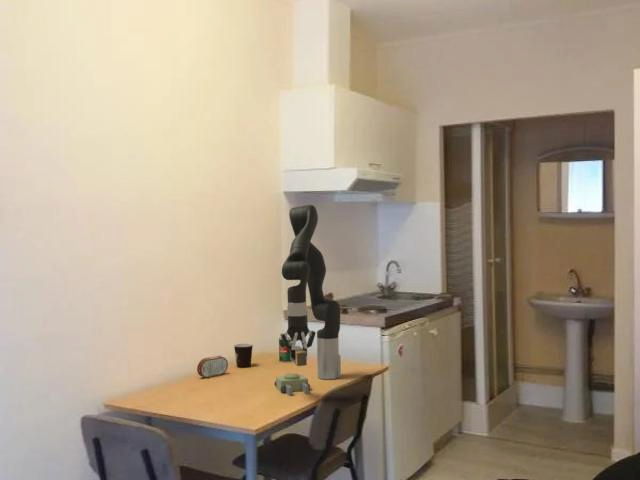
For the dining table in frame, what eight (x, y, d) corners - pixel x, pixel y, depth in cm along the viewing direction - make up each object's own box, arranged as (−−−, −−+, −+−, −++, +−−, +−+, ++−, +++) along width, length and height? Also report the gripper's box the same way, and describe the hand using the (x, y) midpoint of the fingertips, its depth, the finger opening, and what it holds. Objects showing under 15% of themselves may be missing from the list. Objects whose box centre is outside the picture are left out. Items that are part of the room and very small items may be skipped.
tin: (225, 372, 302) (224, 354, 301) (229, 373, 299) (228, 355, 299) (196, 378, 291) (196, 359, 291) (201, 379, 289) (200, 360, 289)
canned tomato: (277, 362, 323) (277, 339, 323) (281, 358, 331) (280, 336, 330) (293, 362, 322) (293, 339, 321) (296, 359, 329) (296, 336, 329)
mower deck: (302, 384, 276) (302, 371, 276) (313, 393, 261) (313, 379, 261) (274, 387, 272) (274, 373, 272) (284, 396, 258) (283, 381, 257)
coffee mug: (251, 368, 310) (251, 346, 310) (233, 368, 310) (232, 347, 310) (254, 363, 321) (254, 342, 321) (236, 363, 322) (236, 342, 321)
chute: (299, 358, 262) (299, 345, 262) (306, 365, 253) (306, 352, 252) (290, 359, 261) (290, 346, 261) (297, 366, 252) (297, 352, 251)
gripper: (312, 311, 261) (313, 355, 262) (276, 314, 257) (278, 358, 258) (318, 313, 254) (319, 359, 255) (281, 316, 250) (283, 362, 250)
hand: (298, 358), depth 256 cm, fingers closed on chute, 3 cm apart
